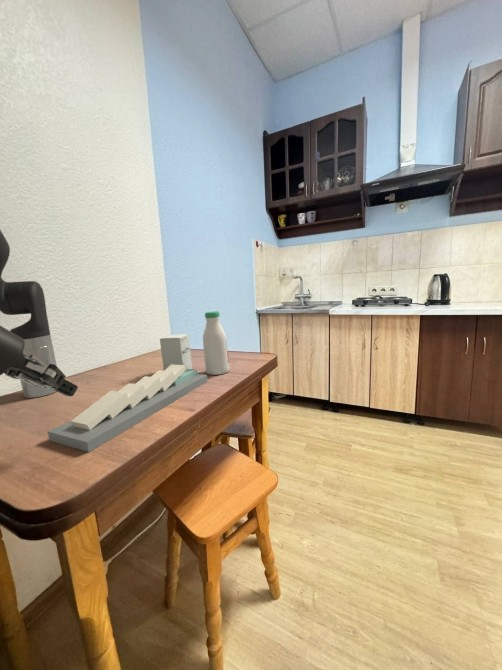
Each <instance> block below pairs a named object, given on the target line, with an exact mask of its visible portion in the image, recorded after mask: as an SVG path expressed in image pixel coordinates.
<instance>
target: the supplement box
mask: <svg viewBox="0 0 502 670" xmlns="http://www.w3.org/2000/svg"><path fill="white" fill-rule="evenodd" d="M159 344H160V352H161V360H162V367H163V371H165V370H166V369H167V368H168V367H169V366H170V365H171V364H173V365H185V367H186V369H193V363H192V355H191V346H190V335H189V334H188V333H184V334H183V333H181V334H180V333H179V334H177V333H176V334H169V335H167V336H164V337H161V338H159Z"/></svg>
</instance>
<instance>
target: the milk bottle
mask: <svg viewBox="0 0 502 670" xmlns="http://www.w3.org/2000/svg"><path fill="white" fill-rule="evenodd" d="M204 317H205V329H204V331H203V335H202V343H203V345H202V347H203V355H204V364H205V372H206V375H211V376H217V375H223V374H226V373H228V372H229V371H230V361H229V350H228V343H227V335H226V332H225V330H224V328H223V326H222V325H221V322H220V317H221V316H220V312H219V311H207V312H205V313H204Z"/></svg>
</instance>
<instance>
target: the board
mask: <svg viewBox="0 0 502 670" xmlns="http://www.w3.org/2000/svg"><path fill="white" fill-rule="evenodd" d="M208 382H209V381H208V374H201V373H200V374H199V373H197V375H195V376H193V377H191V378H189V379H187V380H185V381H183V382H182V383H180V384H178V385H176V386H175V385H170V386H169V387H168V388H167V389H166V390H165V391H158V392H157V393H156V394H155V395H154V396H152V397H151V398H150V399H142V400H141V401H140V402H139V403H138V404H137V405H136V406H135V407H133V408H128V407H125V408H124V409H123V410H122V411H121V412H120V413H119V414H117V415H116V416H115V417H114V418H113V419H110V418H104V419H103V420H102V421H101V422H99V423H98V424H97V425H96V426H95V427H94V428H92V429H91V430H87V429H83V428H78V427H74V426H73V424H72V422H71V421H72V420H73V419H72V420H69V421H67V422H65V423H63V424H61V425H59V426H56V427H54V428H52V429H49V430H48V431H47V435H48V439H49V441H50V442H52V443H56V444H59V445H63V446H66V447H70V448H72V449H77V450H80V451H84V452H87V453H90V452H92V451H94V450H95V449H97V448H99V447H101V446H102V445H103V444H105V443H107V442H109V441H110V440H112V439H114V438H115V437H117V436H119V435H120V434H122V433H123V432H125V431H127V430H129V429H130V428H132V427H134V426H135V425H137V424H139V423H140V422H142V421H144V420H145V419H147V418H149V417H150V416H152V415H154V414H155V413H157V412H159V411H161V410H162V409H164V408H166V407H167V406H169V405H170V404H172V403H175V401H177V400H179V399H180V398H182V397H184V396H185V395H187V394H188V393H190V392H192V391H194V390H195V389H197V388H199V387H200V386H202V385H204V384H205V383H208Z"/></svg>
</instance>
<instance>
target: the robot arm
mask: <svg viewBox="0 0 502 670" xmlns="http://www.w3.org/2000/svg"><path fill="white" fill-rule="evenodd" d="M10 249H11V248H10V245H9V243H8V240H7V239H6V237H5V235H4V233H3V232H2V230H1V229H0V312H1V313H2V314H4V315H7V316H17V315H28V314H30V318H29V320H27V321H26V322H24V323H22V324H20V325H19V326H16V327H13V328H11V329H10V330H9V329H7V328H5V327H3V326H1V325H0V376H1V375H3V374H4V375H5V376H6V377H8V378H11V379H13V380H14V379H15V380H19V381H20V384H21V389H22V394H23V397H24V398H27V399H29V398H30V399H31V398H38V397H44V396H48V395H52V394H54V393H56V392H57V393H59V394H62V395H64V396H65V397H73V396H74V395H75V393H76V392H77V390H78V387H79V386H78V385H77V384H74V383H72V382H71V381H69V380H67V379H65V378H66V377H67V376H66V374H65V373H63V371H62V370H61V369H60V368H59V367H58V365H57V360H56V355H55V351H54V346H53V341H52V337H51V331H50V326H49V325H50V324H49V319H48V318H49V317H48V314H47V313H48V312H47V305H46V299H45V293H44V290H43V287H42V286H41V284H40V283H39V282H37V281H34V280H27V281H26V280H25V281H23V280H22V281H6V280H4V279H3V278H2V274H3V271H4V269H5V267H6V266H7V263H8V260H9V257H10V254H11V253H10V252H11V250H10Z"/></svg>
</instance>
